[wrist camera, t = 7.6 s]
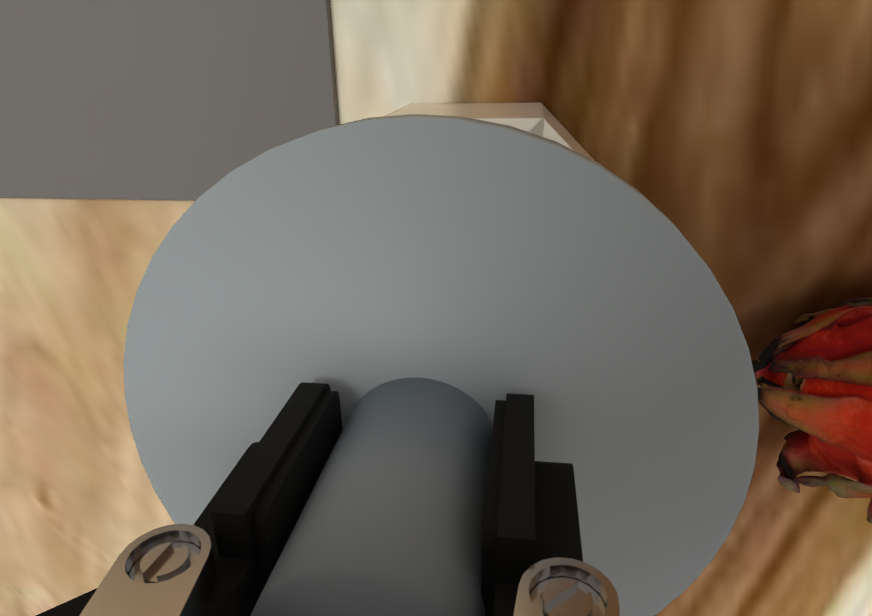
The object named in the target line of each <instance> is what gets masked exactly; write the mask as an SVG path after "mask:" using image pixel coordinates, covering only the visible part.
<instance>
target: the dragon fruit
mask: <svg viewBox="0 0 872 616" xmlns="http://www.w3.org/2000/svg"><path fill="white" fill-rule="evenodd" d="M841 305H842V306H841V307H838V308H830V309H825V310H822V311H819V312H816V313H810V314H801V315H800V317H799V318H798V319H796V320H794V321H793V322H791V323H790V325H793V324H800V325H802V326H801V327H799V328H797V329H794V330H791V331H788V332H786V333H784V334H782V335H781V336H779V337H777V338H776V339H774V340H773V341H772V342H771V343H770V344H769V345H768V346H767V347H766V348H765V349H762V350H761V351H760V352H759V354H758V357H757V361H752V366H753V371H754V373H756V385H757V391H758V401H759V403H760V404H761V405H762V406H763V407H764V408H765V409H766V410H767V411H768V412H769V414H770V415H771V416H772V417H775V418H778V419H779V420H781V421H782V422H784V423H786V424H789V425H791V426H792V427H794V428H797V429H799V430H797V431H794V432H791V433H789V434H788V435H786V436H785V437H784V439H785V440H786V441H787V442H786V443H785V444H784V446H783V448H782V450H781V452H780V455H779V459H778V462H777V467H778V469H779V472H780V475H779V477H778V481H779V482H780V484H781V485H783V486H784V487H785V488H786V489H787V490H792V491H795V492H797V493H800V490H799V488H800V487H799V484H798V483H800V484H803V485H805V486H810V487H817V486H826V485H827V486H828V488H829V489H830V490H831V491H833V492H835V494H836V495H837V496H839V497H842V498H868V497H871V501H870V504H869V506H868V510H867V513H868V515H867V521H868V522H870V523H872V298H870V297H864V298H857V297H853V298H850V299H847V300H843V301H842V304H841ZM806 471H807V472H809V471H815V472H827V473H833V474H828V475H826V476H824V477H820V476H801V477H797V478H796V476H797V475H798V474H801V473H803V472H806ZM836 474H839V475H844V476H847V477H850V478H852V479H855V480H857V481H853V480H851V479H848V478H845V477H843V476H838V475H836ZM858 481H859V482H858Z"/></svg>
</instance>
